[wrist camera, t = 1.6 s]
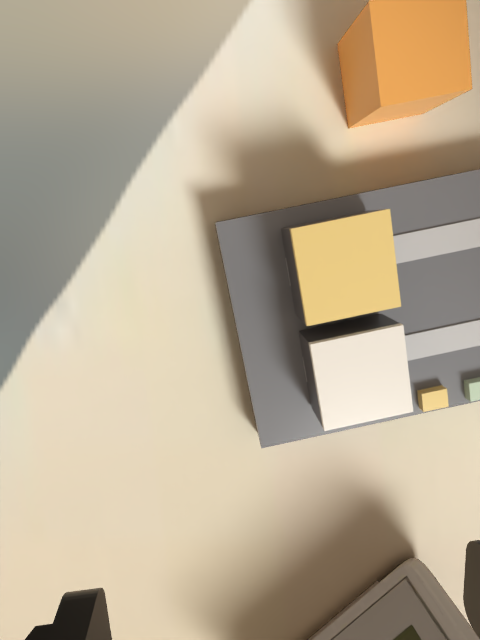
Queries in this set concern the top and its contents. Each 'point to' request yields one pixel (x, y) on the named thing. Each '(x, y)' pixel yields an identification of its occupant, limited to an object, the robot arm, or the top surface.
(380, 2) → the orange rectangular block
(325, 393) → the block
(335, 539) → the top surface
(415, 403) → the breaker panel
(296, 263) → the block
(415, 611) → the digital clock
